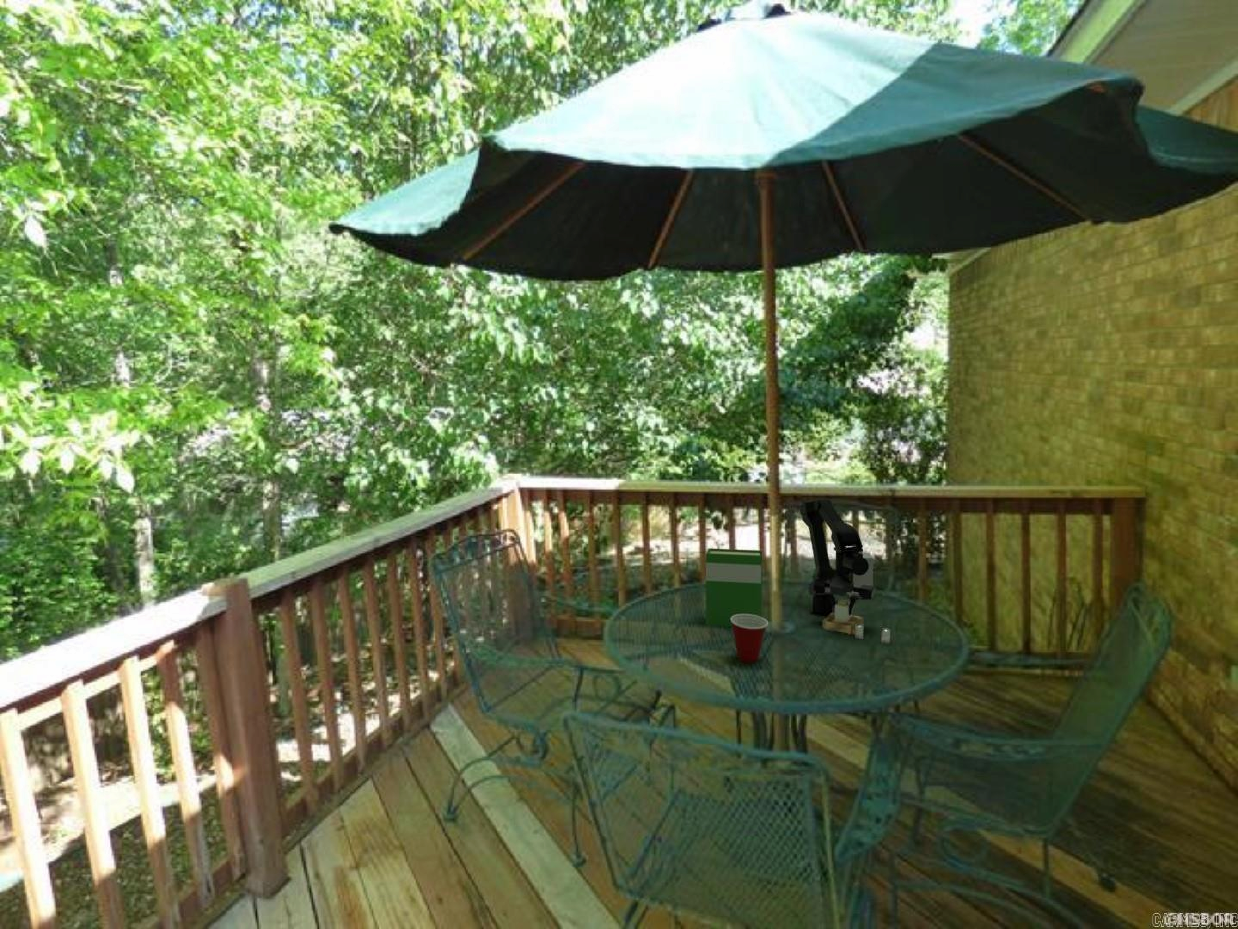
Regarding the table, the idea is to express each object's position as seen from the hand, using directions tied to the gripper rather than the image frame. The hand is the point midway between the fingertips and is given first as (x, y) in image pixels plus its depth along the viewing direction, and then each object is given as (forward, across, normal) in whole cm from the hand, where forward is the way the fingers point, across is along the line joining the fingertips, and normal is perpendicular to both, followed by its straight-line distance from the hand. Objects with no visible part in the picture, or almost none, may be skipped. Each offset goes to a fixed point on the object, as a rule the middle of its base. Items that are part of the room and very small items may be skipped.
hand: (843, 614), depth 245 cm
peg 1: (+4, +7, -7) cm, 11 cm away
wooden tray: (+4, 0, 0) cm, 4 cm away
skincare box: (+5, -4, +35) cm, 36 cm away
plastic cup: (+4, -16, -41) cm, 44 cm away
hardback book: (+5, -32, -14) cm, 35 cm away
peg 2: (+4, +15, -7) cm, 17 cm away
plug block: (+2, 0, 0) cm, 2 cm away
